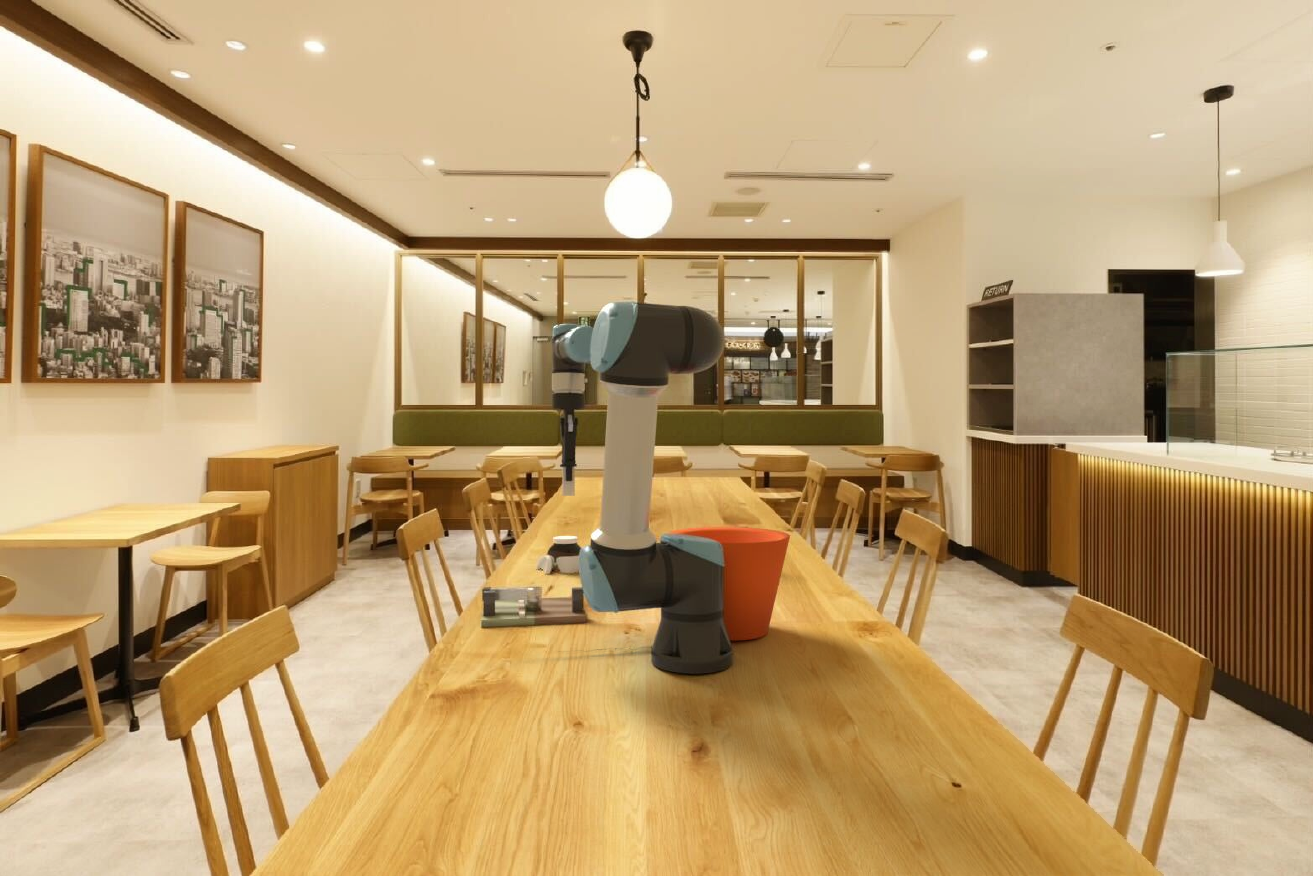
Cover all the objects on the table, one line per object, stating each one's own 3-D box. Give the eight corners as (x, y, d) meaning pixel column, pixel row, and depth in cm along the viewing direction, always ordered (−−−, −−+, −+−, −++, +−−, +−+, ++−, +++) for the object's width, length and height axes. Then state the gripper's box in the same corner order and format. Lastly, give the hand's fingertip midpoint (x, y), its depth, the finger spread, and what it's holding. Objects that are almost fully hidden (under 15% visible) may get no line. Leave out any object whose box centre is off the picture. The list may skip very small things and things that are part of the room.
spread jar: (588, 578, 209) (588, 537, 209) (562, 585, 200) (562, 542, 200) (555, 574, 216) (555, 534, 216) (528, 580, 206) (528, 538, 206)
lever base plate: (586, 622, 160) (586, 592, 160) (481, 627, 156) (481, 596, 156) (578, 603, 179) (578, 575, 178) (484, 606, 174) (484, 579, 174)
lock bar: (542, 606, 167) (542, 586, 167) (541, 610, 163) (541, 589, 163) (484, 607, 166) (484, 586, 166) (481, 611, 162) (481, 590, 162)
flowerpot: (702, 610, 171) (702, 524, 171) (807, 624, 158) (807, 531, 158) (645, 635, 150) (645, 537, 150) (761, 654, 137) (761, 546, 137)
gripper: (587, 391, 165) (587, 497, 165) (582, 394, 178) (582, 493, 178) (553, 390, 164) (553, 497, 164) (550, 394, 177) (550, 493, 177)
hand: (568, 495), depth 171 cm, fingers closed
